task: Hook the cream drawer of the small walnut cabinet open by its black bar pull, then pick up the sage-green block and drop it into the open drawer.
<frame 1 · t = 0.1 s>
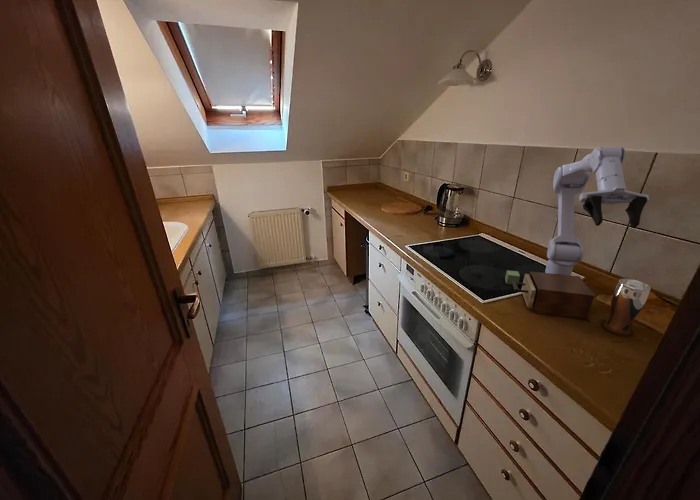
hand: (617, 224, 77), 32 cm above the worktop, tool tilted 50°, fingers open, 7 cm apart
block: (511, 282, 115), on the worktop
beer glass: (616, 329, 88), on the worktop
drawer: (541, 292, 100), point 4 cm above the worktop, slide at 0.5 cm
cabinet: (553, 304, 100), on the worktop
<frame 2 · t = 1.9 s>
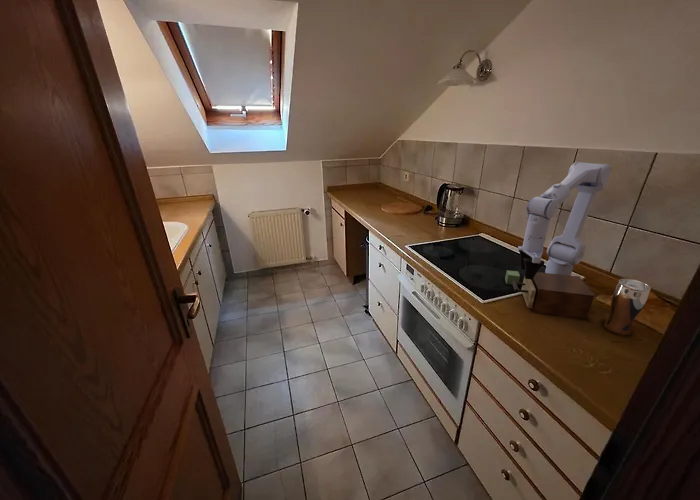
hand: (526, 273, 99), 10 cm above the worktop, tool pointing down, fingers open, 6 cm apart
nothing on the worktop moved.
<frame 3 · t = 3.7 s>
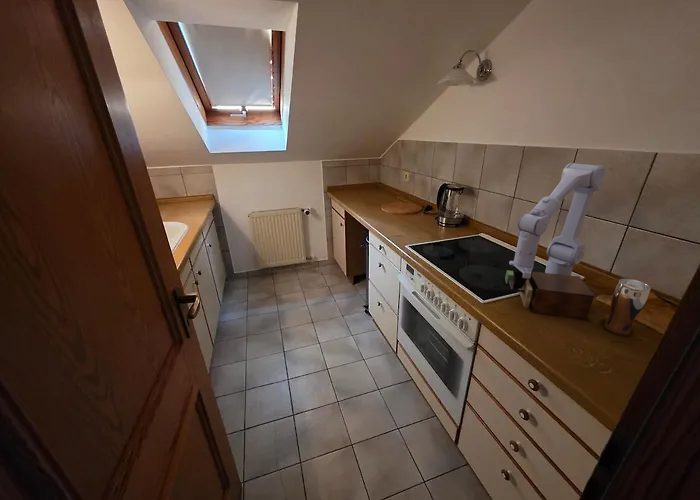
hand: (517, 287, 101), 5 cm above the worktop, tool pointing down, fingers closed, pressing on drawer
drawer: (538, 291, 100), point 4 cm above the worktop, slide at 1.5 cm, touching gripper
everything else where it was.
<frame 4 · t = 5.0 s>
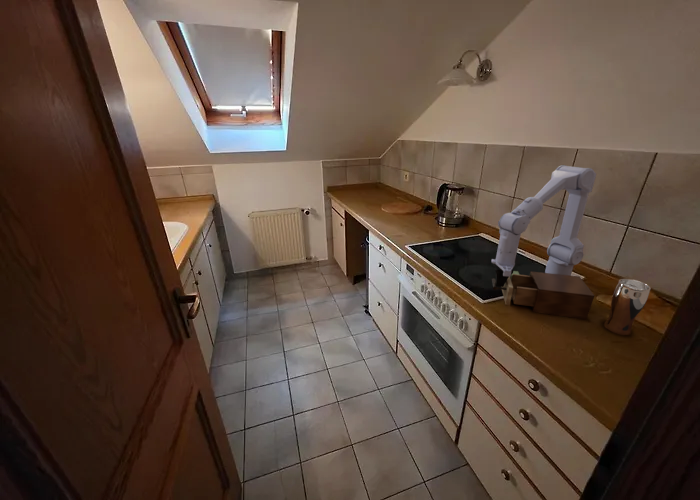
hand: (499, 285, 103), 5 cm above the worktop, tool pointing down, fingers closed, pressing on drawer
drawer: (520, 289, 102), point 4 cm above the worktop, slide at 7.0 cm, touching gripper
everything else where it was.
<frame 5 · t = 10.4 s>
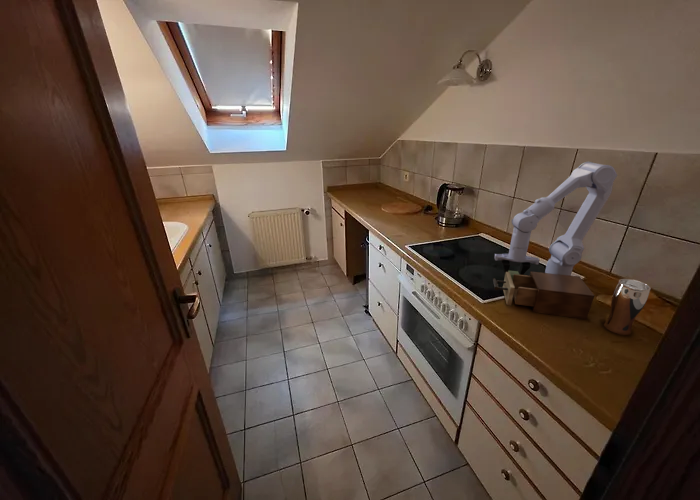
hand: (512, 278, 114), 2 cm above the worktop, tool pointing down, fingers closed on block, 4 cm apart
block: (511, 282, 115), on the worktop, touching gripper
drawer: (521, 289, 101), point 4 cm above the worktop, slide at 6.6 cm
everything else where it was.
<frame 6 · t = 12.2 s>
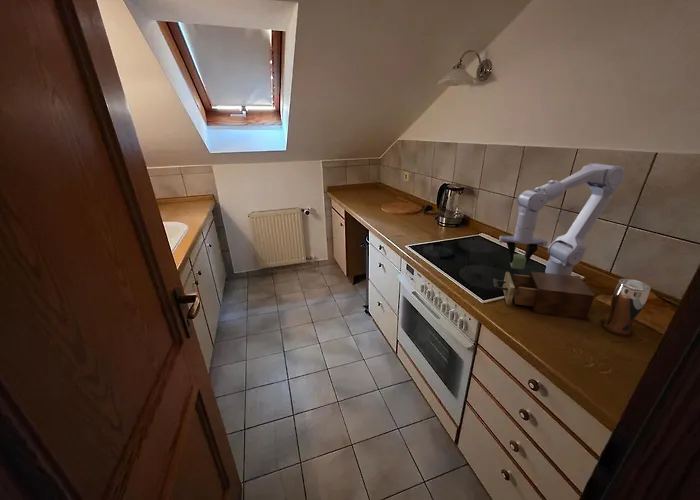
hand: (517, 262, 107), 10 cm above the worktop, tool pointing down, fingers closed on block, 4 cm apart
block: (516, 266, 108), point 9 cm above the worktop, touching gripper
everything else where it was.
when the fingers open (9 cm above the worktop, at t = 14.1 s): block drops 4 cm and tips over, resting on drawer.
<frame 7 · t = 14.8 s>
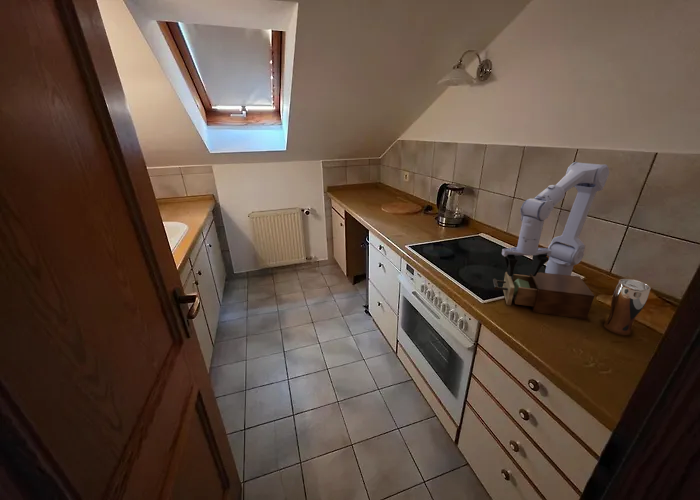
hand: (521, 274, 100), 10 cm above the worktop, tool pointing down, fingers open, 7 cm apart
block: (516, 290, 102), point 4 cm above the worktop, tilted 33°, touching drawer
drawer: (521, 289, 101), point 4 cm above the worktop, slide at 6.6 cm, touching block
everything else where it was.
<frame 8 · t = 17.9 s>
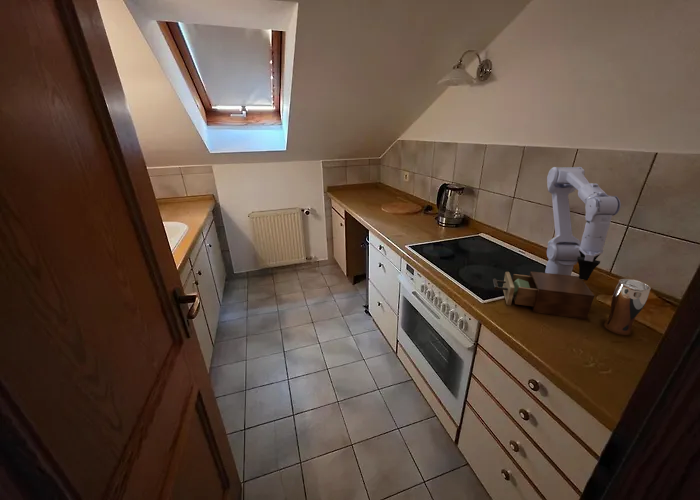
hand: (583, 275, 97), 10 cm above the worktop, tool pointing down, fingers open, 7 cm apart
nothing on the worktop moved.
at the end: drawer slide at 6.6 cm; block inside the target area in the drawer (0.9 cm from its centre), point 3.5 cm above the cabinet's base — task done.
